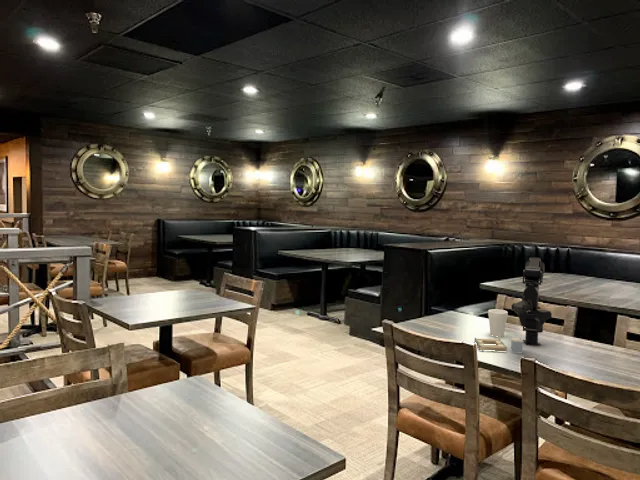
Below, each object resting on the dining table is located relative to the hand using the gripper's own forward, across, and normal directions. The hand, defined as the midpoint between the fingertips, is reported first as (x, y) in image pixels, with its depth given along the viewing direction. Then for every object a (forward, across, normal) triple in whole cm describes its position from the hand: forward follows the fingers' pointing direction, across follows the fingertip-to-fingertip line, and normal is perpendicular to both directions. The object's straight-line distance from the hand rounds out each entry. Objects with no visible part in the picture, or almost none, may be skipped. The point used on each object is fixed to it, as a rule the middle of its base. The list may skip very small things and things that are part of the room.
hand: (530, 328), depth 221 cm
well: (+13, -16, -9) cm, 22 cm away
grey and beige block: (+13, -6, -2) cm, 14 cm away
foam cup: (+13, -30, +8) cm, 34 cm away
